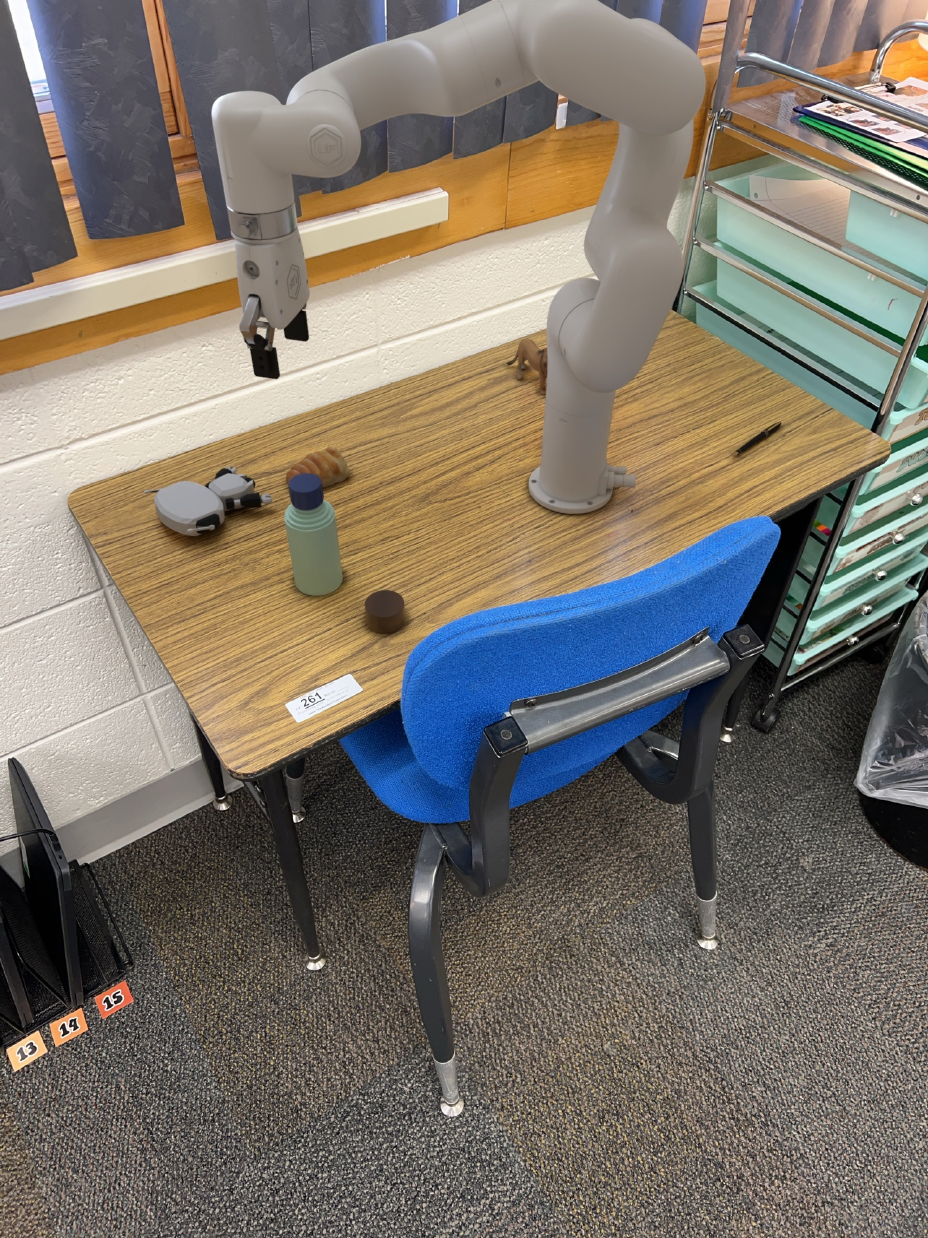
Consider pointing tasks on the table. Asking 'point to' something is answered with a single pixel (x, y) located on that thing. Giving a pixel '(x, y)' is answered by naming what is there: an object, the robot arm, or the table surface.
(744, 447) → the fountain pen
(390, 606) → the cylinder
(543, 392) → the lion figurine
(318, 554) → the bottle
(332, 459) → the pastry
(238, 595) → the table surface
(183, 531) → the robot toy
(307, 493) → the cap
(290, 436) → the table surface
